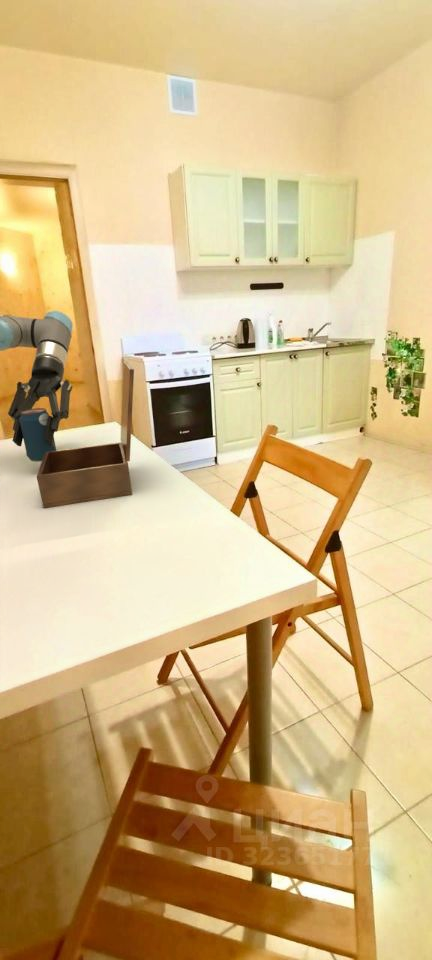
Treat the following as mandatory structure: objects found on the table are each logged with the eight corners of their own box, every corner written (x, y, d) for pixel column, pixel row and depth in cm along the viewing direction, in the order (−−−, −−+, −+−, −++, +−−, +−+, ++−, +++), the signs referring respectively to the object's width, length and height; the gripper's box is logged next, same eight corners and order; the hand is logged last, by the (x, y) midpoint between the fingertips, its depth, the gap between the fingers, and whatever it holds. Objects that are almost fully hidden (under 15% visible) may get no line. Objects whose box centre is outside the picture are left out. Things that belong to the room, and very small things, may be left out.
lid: (129, 369, 84) (134, 369, 85) (123, 361, 100) (127, 361, 101) (125, 461, 90) (129, 461, 90) (120, 440, 106) (123, 440, 106)
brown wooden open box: (43, 508, 89) (36, 476, 87) (50, 479, 105) (44, 451, 103) (132, 494, 93) (128, 463, 90) (126, 468, 109) (122, 442, 106)
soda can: (62, 457, 111) (54, 409, 107) (36, 464, 106) (26, 414, 102) (48, 452, 116) (39, 406, 111) (22, 459, 111) (12, 411, 107)
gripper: (91, 372, 118) (78, 449, 108) (20, 375, 120) (1, 451, 110) (81, 353, 111) (65, 433, 102) (5, 357, 113) (-17, 436, 104)
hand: (32, 442), depth 106 cm, fingers closed on soda can, 7 cm apart
